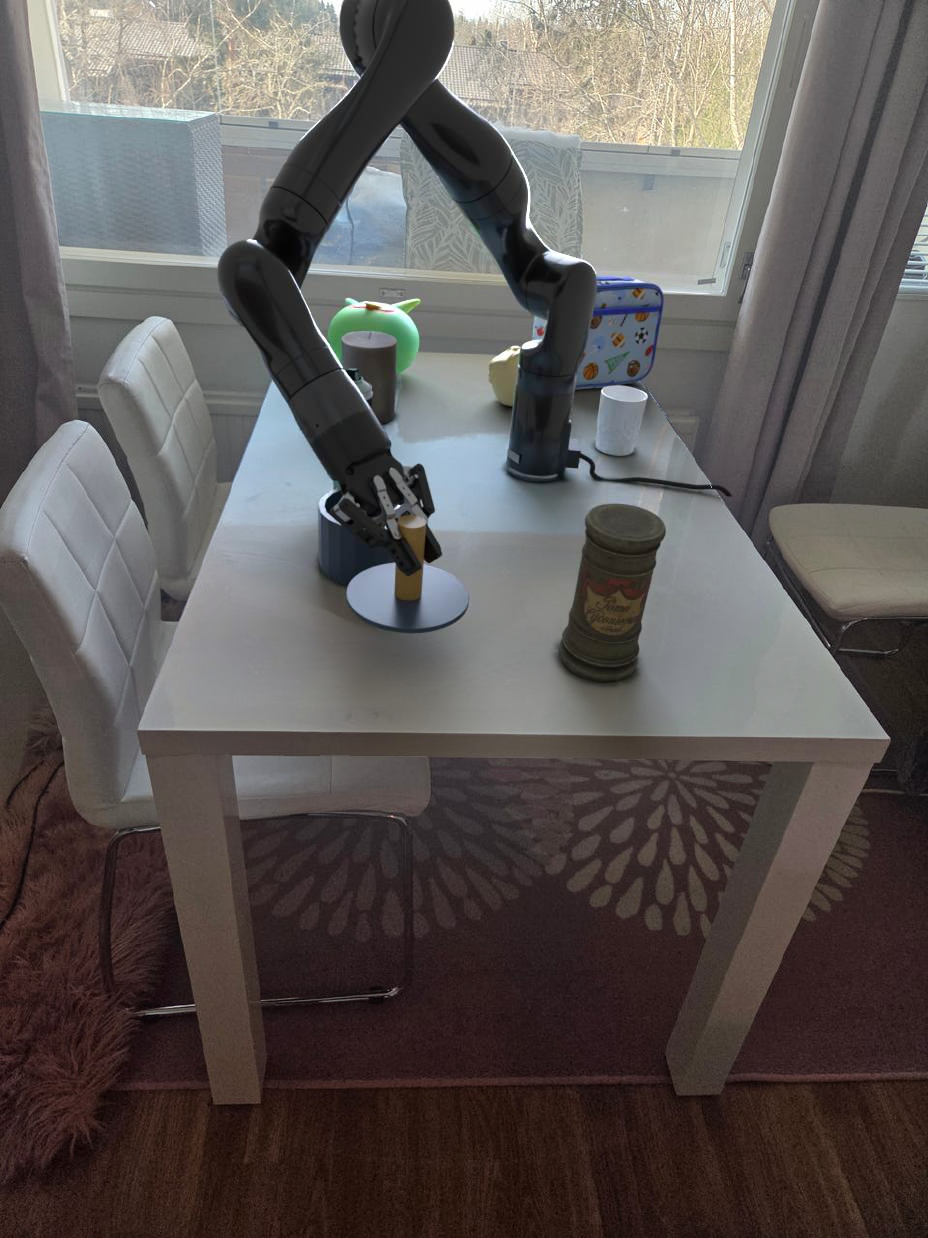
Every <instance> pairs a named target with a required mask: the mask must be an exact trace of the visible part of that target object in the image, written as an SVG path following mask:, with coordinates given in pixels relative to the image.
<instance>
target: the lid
mask: <svg viewBox="0 0 928 1238" xmlns="http://www.w3.org/2000/svg"><path fill="white" fill-rule="evenodd" d="M397 525H398V527H399V529H400V531H401V534H402V537H401V539H403V538H404V537H405V539H406V540H407V542H408V544H409V545H410V547H411V548H412V550H413V552H414V553H415V555H416V557H417V558H418V560H419V562H420V563H421V565H422V568H421V569H420V570H418V571H417V572H415V573H414V574H412V575H410V576H406V575H405V574H404V573H402V572H401V571H400V570H399V568H398V567H397V565H396V563H388V564H382V565H378V566H374V567H372V568H369V569H367V570H364V571H362V572H361V573H359V574H358V575H356V576H355V577H354V578H353V579H352V580H351V581H350V583H349V585H348V586H346V590H345V600H346V604H347V606H348V608H349V610H350V612H352V614H353V615H354V616H355V617H357V618H358V619H360V621H362V622H364V623H366V624H368V625H370V626H372V627H375V628H377V629H380V630H383V631H387V632H392V633H399V634H424V633H431V632H436V631H439V630H443V629H445V628H447V627H450V626H451V625H453V624H455V623H457V622H458V621H459V620H460V619H462V618H463V617H464V615H465V614H466V612H467V611H468V608H469V606H470V605H469V603H470V594H469V591H468V589H467V587H466V586H465V584H464V583H463V582H462V581H461V580H460V579H459V578H458V577H457V576H455V575H453V574H452V573H451V572H448V571H446V570H444V569H442V568H440V567H436V566H432V565H428V564H425V560H424V549H425V533H426V521H425V519H424V518H422V517H420V516H416V515H405V516H402V517H400V518H399V519H398V523H397Z"/></svg>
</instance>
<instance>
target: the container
mask: <svg viewBox="0 0 928 1238" xmlns="http://www.w3.org/2000/svg"><path fill="white" fill-rule="evenodd" d="M584 527H585V529H584V530H585V531H584V535H585V541H584V545H583V546H582V548H581V558H580V563H579V569H578V574H577V580H576V585H575V591H574V596H573V601H572V604H571V608H570V610H569V612H568V621H567V626H566V627H565V628H564V629H563V630H562V634H561V640H560V642H559V644H558V655H559V658H560V659H559V660H561V662H562V664H563V665H564V666H565V667H566V668H567V669H568V670H569V671H571V672H572V673H573V674H575V675H577V676H579V677H581V678H583V679H586V680H589V681H593V682H601V683H615V682H620V681H622V680H625V679H627V678H628V677H630V676H631V675H632V674H633V673H634V672H635V670H636V668H637V667H638V664H639V663H638V662H639V654H640V645H639V638H640V635H641V633H642V631H643V630H642V629H643V623H642V621H643V616H644V612H645V609H646V604H647V600H648V595H649V592H650V587H651V582H652V578H653V574H654V570H655V568H656V566H657V553H658V551H659V549H660V547H661V544H662V542H663V541H664V540H665V537H666V533H667V529H666V524H665V522H664V521H663V519H662V517H660V516H659V515H657V514H656V513H654V512H652V511H650V510H648V509H646V508H643V507H641V506H636V505H633V504H628V503H613V502H611V503H603V504H599V505H596V506H594V507H592V508H591V509H590V510H589V511H588V512H587V514H586V516H585V518H584Z"/></svg>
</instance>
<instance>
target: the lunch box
mask: <svg viewBox="0 0 928 1238" xmlns="http://www.w3.org/2000/svg"><path fill="white" fill-rule="evenodd" d="M596 277H597V294H596V301H595V307H594V311H593V316H592V321H591V325H590V330H589V335H588V340H587V344H586V348H585V350H584V353H583V355H582V357H581V359H580V362H579V367H578V373H577V379H576V386H575V391H576V390H577V391H578V390H587V389H588V390H589V389H603V388H604V387H607V386H615V385H618V386H622V385H626V384H632V383H636V382H640V381H642V380H644V379H645V378H646V377H647V376H648V375H649V374H650V372H651V371H652V368H653V367H654V363H655V359H656V351H657V345H658V339H659V333H660V326H661V322H662V318H663V317H662V316H663V311H664V310H663V309H664V303H665V298H664V297H665V296H664V293H663V290H662V288H661V287H660V286H659V285H657V284H655V283H651V282H644V281H642V280H640V279H637V278H633V277H631V276H617V275H607V276H606V275H605V276H597V275H596ZM533 317H534V319H533V329H532V337H531V338H532V339H531V341H533V340H539V339H543V338H544V334H545V330H546V325H547V321H546V320H543V319H541V318H538V317H535V316H533Z"/></svg>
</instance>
